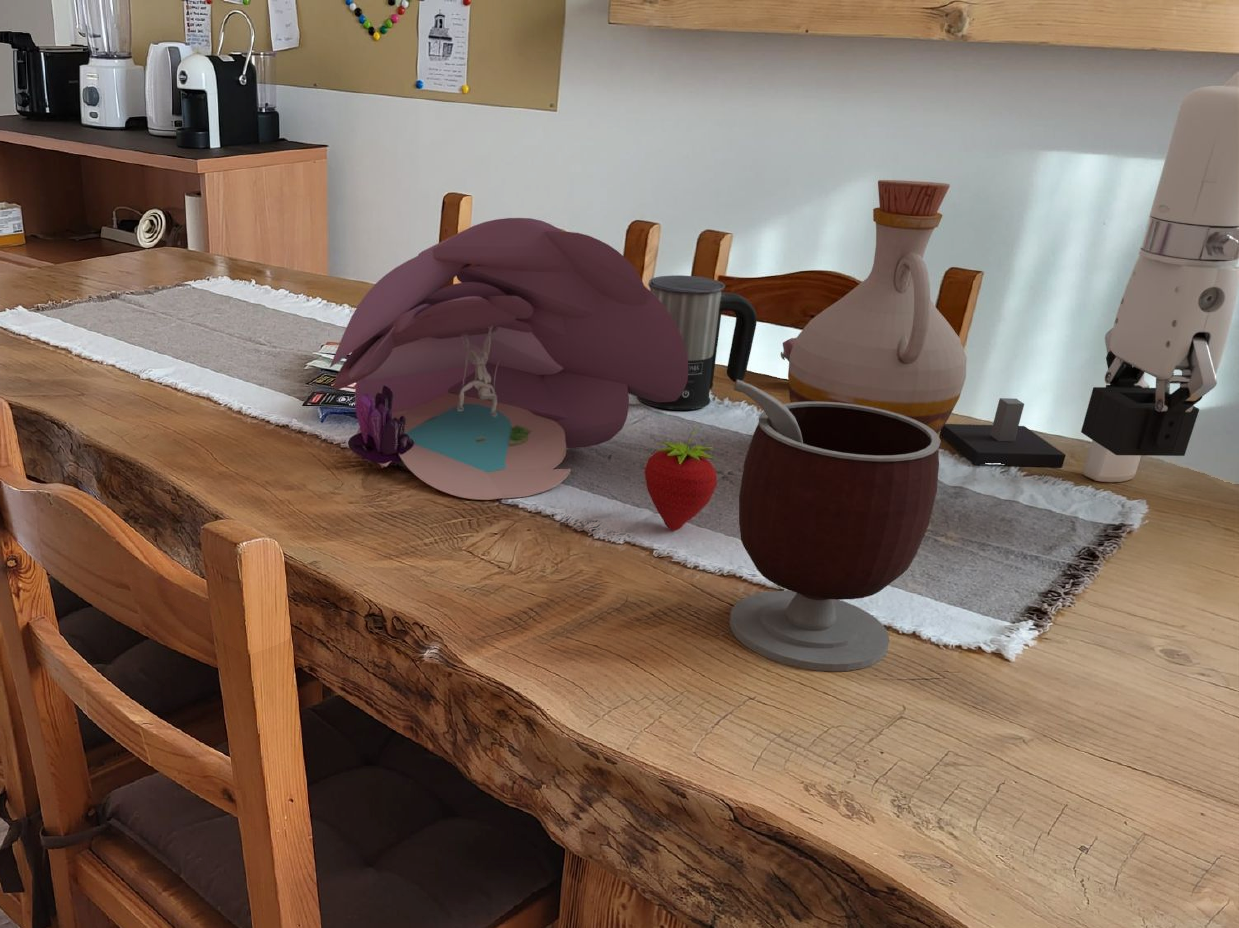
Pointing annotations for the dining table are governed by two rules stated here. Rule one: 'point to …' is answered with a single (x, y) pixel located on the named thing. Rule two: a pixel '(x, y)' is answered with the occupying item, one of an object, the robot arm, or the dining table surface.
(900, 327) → the jug
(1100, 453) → the eye dropper bottle
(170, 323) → the dining table surface
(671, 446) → the strawberry
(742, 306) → the milk frother
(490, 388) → the purple rock cave
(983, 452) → the base pad
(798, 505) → the mate gourd
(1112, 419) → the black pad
